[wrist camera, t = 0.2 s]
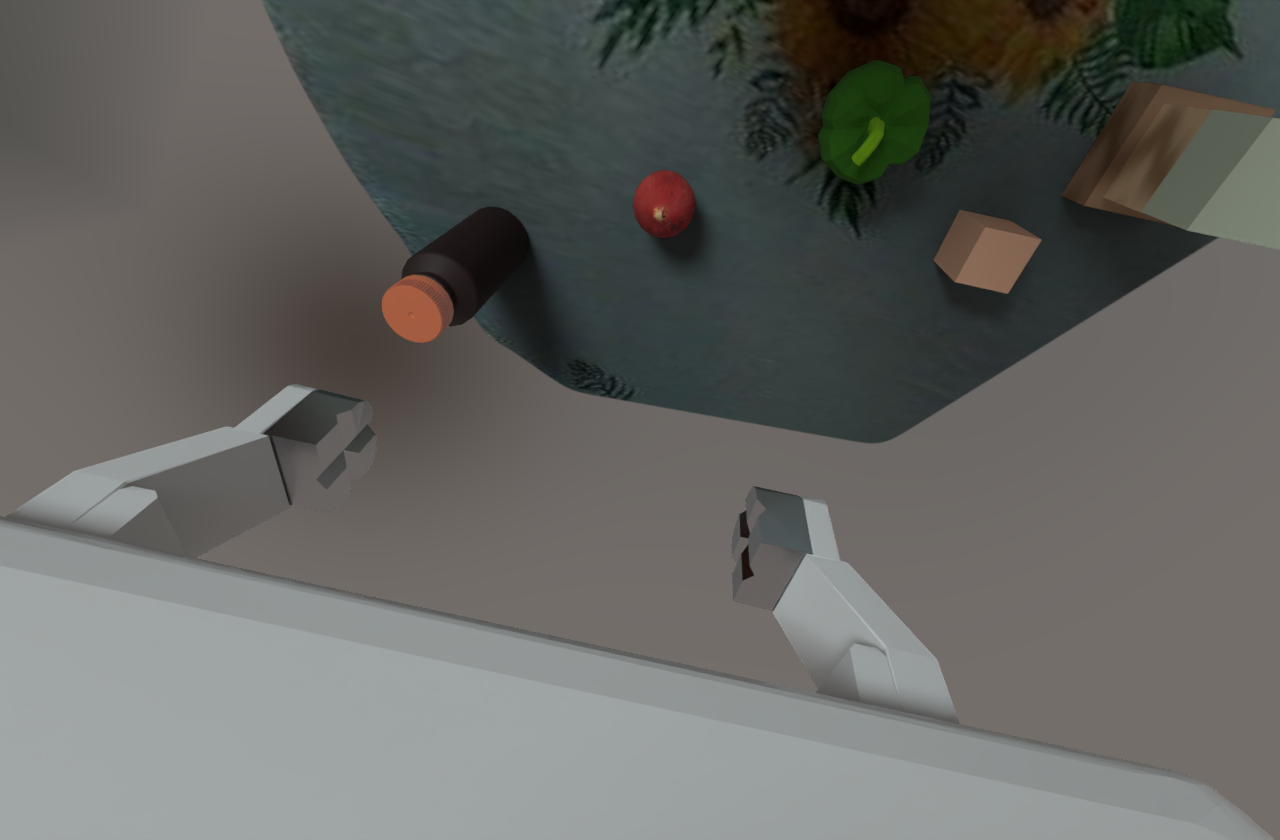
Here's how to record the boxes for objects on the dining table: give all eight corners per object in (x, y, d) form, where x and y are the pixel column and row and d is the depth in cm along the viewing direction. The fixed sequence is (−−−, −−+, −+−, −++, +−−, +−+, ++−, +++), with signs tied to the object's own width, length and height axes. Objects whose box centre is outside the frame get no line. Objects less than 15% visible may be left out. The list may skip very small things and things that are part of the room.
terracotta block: (959, 209, 50) (985, 227, 46) (1010, 220, 50) (1041, 239, 46) (933, 260, 53) (954, 281, 49) (981, 271, 53) (1007, 293, 49)
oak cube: (1164, 103, 41) (1212, 110, 37) (1252, 122, 41) (1310, 130, 37) (1102, 197, 45) (1140, 212, 41) (1182, 214, 45) (1228, 231, 41)
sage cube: (1213, 109, 37) (1273, 117, 33) (1311, 130, 37) (1384, 140, 33) (1140, 211, 41) (1186, 230, 37) (1229, 230, 41) (1284, 250, 37)
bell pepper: (887, 35, 44) (925, 33, 36) (920, 130, 47) (961, 148, 39) (791, 100, 47) (806, 112, 39) (828, 184, 51) (849, 211, 42)
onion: (707, 205, 53) (705, 228, 46) (658, 236, 55) (650, 262, 49) (676, 151, 50) (670, 167, 44) (627, 186, 53) (614, 206, 46)
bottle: (489, 277, 60) (405, 364, 44) (455, 220, 57) (350, 291, 41) (540, 256, 58) (471, 338, 42) (508, 194, 55) (419, 259, 38)
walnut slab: (1129, 81, 44) (1162, 84, 40) (1235, 104, 44) (1276, 109, 41) (1059, 194, 49) (1083, 205, 46) (1154, 215, 49) (1185, 228, 46)
